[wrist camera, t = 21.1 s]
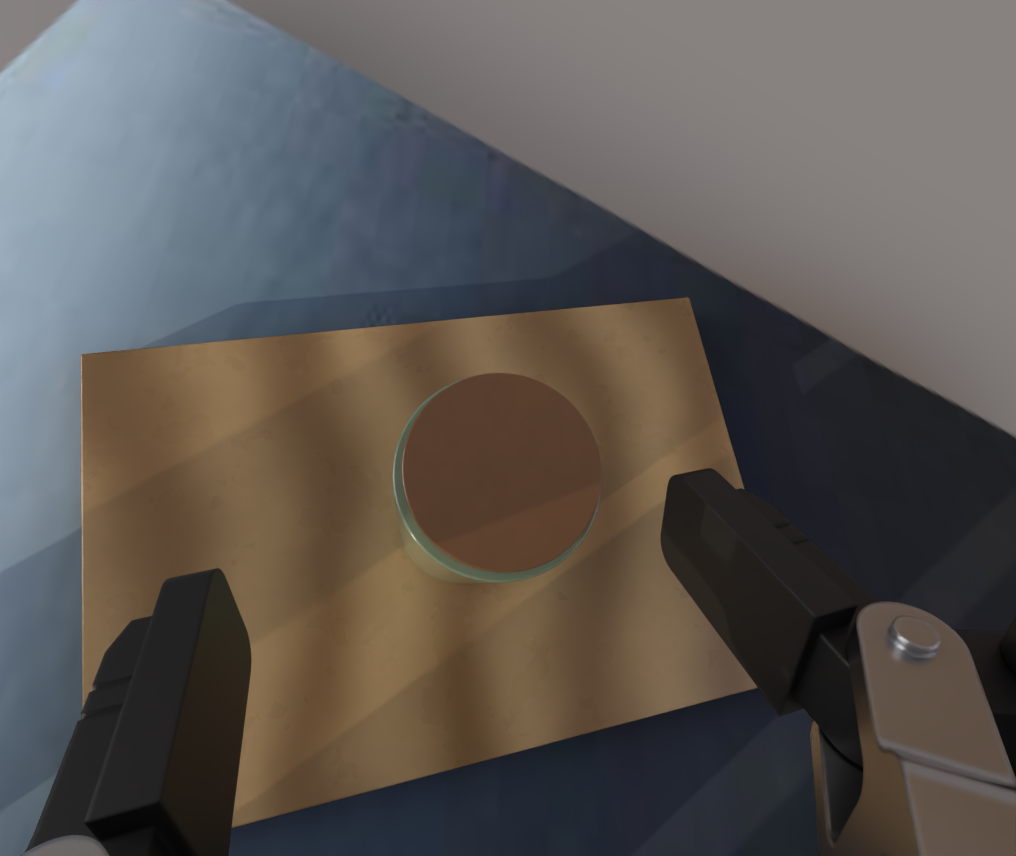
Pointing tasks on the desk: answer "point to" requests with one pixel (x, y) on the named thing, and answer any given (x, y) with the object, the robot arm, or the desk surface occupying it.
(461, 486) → the salt pot
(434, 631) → the oak board
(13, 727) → the desk surface
